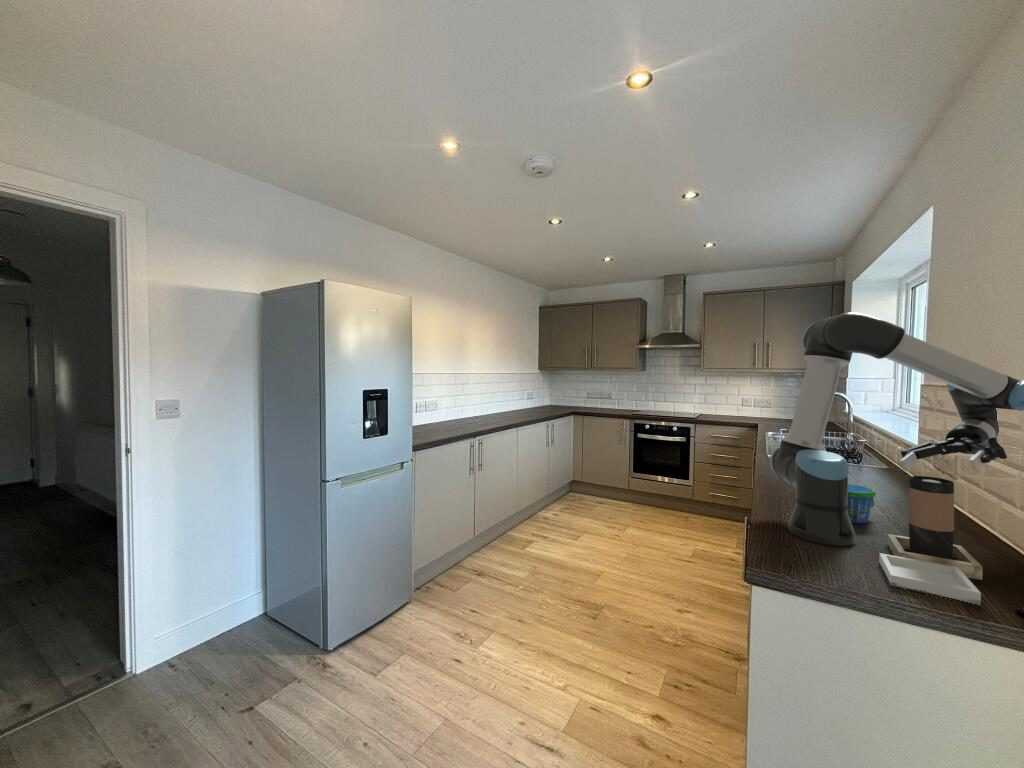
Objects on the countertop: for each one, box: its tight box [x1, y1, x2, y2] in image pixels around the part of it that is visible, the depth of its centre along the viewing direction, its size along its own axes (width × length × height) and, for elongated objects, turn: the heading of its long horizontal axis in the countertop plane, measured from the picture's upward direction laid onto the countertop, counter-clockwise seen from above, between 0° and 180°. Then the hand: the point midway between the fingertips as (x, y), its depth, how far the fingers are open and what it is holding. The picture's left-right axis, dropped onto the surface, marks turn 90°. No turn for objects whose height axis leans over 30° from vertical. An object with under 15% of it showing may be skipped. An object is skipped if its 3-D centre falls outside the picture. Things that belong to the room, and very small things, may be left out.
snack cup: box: [847, 483, 877, 524], centre depth 126 cm, size 16×10×10 cm
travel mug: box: [908, 475, 955, 560], centre depth 98 cm, size 8×8×20 cm
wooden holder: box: [887, 533, 984, 581], centre depth 98 cm, size 13×13×3 cm
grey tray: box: [878, 552, 982, 606], centre depth 88 cm, size 13×13×2 cm
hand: (936, 465), depth 104 cm, fingers open, 13 cm apart
